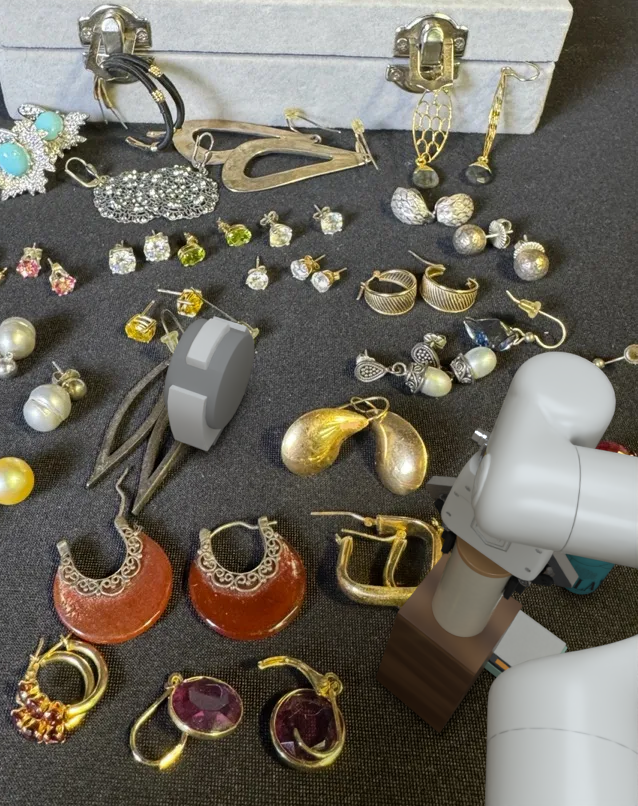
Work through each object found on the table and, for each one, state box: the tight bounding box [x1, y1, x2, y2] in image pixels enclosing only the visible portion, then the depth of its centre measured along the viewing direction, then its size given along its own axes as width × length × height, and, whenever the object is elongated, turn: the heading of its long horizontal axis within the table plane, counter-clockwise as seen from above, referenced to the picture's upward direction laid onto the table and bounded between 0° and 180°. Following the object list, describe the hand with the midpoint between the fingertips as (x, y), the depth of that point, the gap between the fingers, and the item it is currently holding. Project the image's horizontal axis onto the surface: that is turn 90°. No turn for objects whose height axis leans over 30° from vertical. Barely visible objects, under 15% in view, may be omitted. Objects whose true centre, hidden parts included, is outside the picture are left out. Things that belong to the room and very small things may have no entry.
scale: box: [484, 609, 568, 678], centre depth 107 cm, size 9×9×3 cm
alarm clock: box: [163, 315, 255, 452], centre depth 126 cm, size 18×8×20 cm, turn 157°
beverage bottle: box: [564, 554, 618, 595], centre depth 108 cm, size 6×7×20 cm
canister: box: [432, 535, 513, 637], centre depth 84 cm, size 7×7×16 cm
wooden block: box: [375, 551, 524, 734], centre depth 98 cm, size 10×10×22 cm
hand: (481, 564), depth 81 cm, fingers closed on canister, 6 cm apart
